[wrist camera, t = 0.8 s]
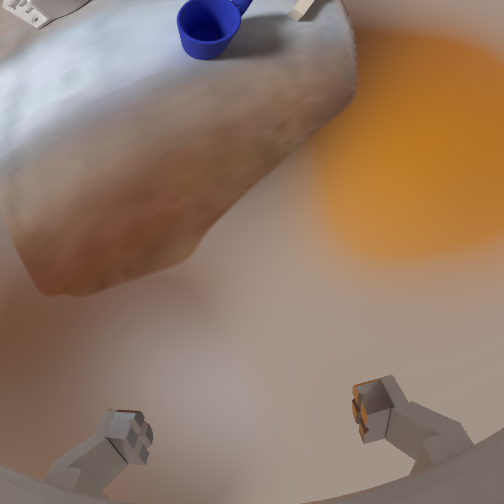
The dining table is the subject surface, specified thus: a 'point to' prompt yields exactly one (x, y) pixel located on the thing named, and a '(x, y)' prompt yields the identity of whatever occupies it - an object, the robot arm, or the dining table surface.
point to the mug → (209, 25)
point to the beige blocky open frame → (300, 9)
